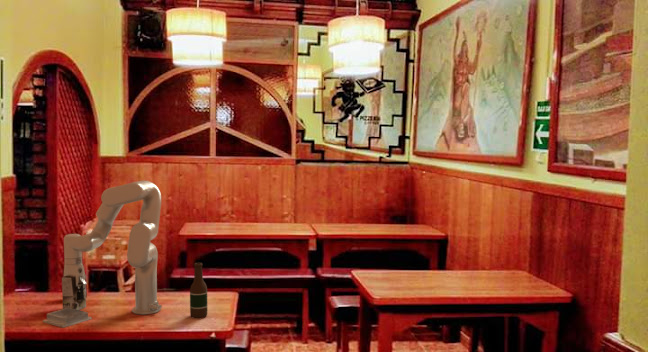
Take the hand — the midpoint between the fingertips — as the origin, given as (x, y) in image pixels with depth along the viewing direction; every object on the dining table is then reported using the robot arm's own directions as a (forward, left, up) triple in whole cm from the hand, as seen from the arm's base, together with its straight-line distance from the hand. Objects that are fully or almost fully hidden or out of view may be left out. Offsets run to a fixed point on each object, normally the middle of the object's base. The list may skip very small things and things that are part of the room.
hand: (74, 298), depth 269 cm
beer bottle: (-56, -23, -5) cm, 61 cm away
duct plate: (-12, +12, -5) cm, 18 cm away
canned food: (+14, -12, -5) cm, 19 cm away
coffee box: (0, 0, -5) cm, 5 cm away
